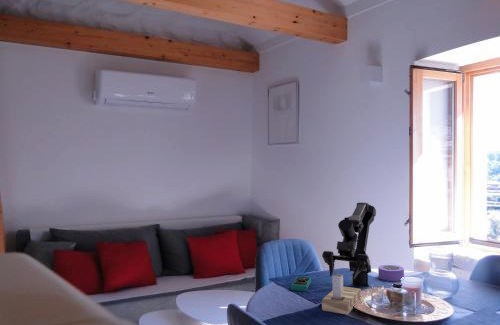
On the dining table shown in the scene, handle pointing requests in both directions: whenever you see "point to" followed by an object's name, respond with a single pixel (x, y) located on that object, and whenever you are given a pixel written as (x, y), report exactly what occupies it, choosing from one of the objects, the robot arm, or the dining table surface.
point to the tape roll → (390, 272)
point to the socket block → (338, 305)
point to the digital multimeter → (301, 283)
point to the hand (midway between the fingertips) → (341, 277)
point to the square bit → (337, 286)
